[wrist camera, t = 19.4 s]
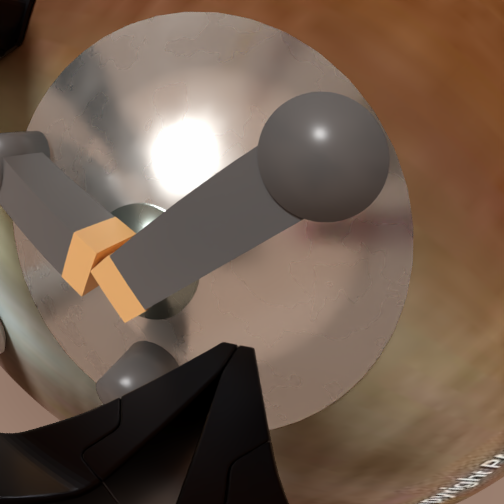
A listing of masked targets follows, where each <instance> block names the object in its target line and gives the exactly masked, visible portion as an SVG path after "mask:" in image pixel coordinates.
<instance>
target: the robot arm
mask: <svg viewBox="0 0 504 504" xmlns="http://www.w3.org/2000/svg"><path fill="white" fill-rule="evenodd" d="M32 3H33V0H0V59H1V58H2V57H3V56H5V55H6V54H8V53H9V52H11V51H12V50H14V49H15V48H17V47H18V46H19V45H20V44H21V42H22V39H23V35H24V31H25V27H26V24H27V20H28V17H29V13H30V10H31V7H32ZM0 504H289V503H288V500H287V498H286V495H285V492H284V489H283V486H282V483H281V480H280V477H279V474H278V470H277V466H276V462H275V458H274V453H273V447H272V443H271V437H270V432H269V427H268V421H267V416H266V410H265V405H264V399H263V393H262V388H261V382H260V376H259V371H258V365H257V359H256V353H255V349H254V348H253V347H248V346H243V345H240V346H238V345H237V344H232V343H227V342H222V343H220V344H218V345H216V346H215V347H213V348H211V349H209V350H208V351H206V352H204V353H202V354H200V355H199V356H197V357H195V358H193V359H191V360H190V361H188V362H186V363H184V364H182V365H181V366H179V367H177V368H175V369H173V370H171V371H169V372H167V373H166V374H164V375H162V376H160V377H158V378H156V379H154V380H152V381H150V382H148V383H146V384H145V385H143V386H141V387H139V388H137V389H135V390H133V391H131V392H129V393H127V394H125V395H123V396H121V399H120V398H116V399H114V400H112V401H110V402H108V403H106V404H104V405H102V406H99V407H97V408H95V409H92V410H90V411H88V412H85V413H82V414H80V415H77V416H74V417H71V418H68V419H65V420H62V421H59V422H56V423H53V424H49V425H46V426H43V427H39V428H36V429H32V430H29V431H25V432H20V433H0Z"/></svg>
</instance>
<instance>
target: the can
mask: <svg viewBox="0 0 504 504" xmlns="http://www.w3.org/2000/svg"><path fill="white" fill-rule="evenodd" d="M5 341H6V335H5V331H4V327H3V325H2V323H1V320H0V354H1V353H2V352H4V350H5Z"/></svg>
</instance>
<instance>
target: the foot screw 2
mask: <svg viewBox="0 0 504 504" xmlns="http://www.w3.org/2000/svg"><path fill="white" fill-rule="evenodd" d="M389 163H390V156H389V147H388V143H387V139H386V137H385V134H384V132H383V130H382V128H381V126H380V124H379V123H378V121H377V120H376V119H375V117H374V116H373V115H372V114H371V113H370V112H369V111H368V110H367V109H366V108H365V107H364V106H362V105H361V104H359V103H358V102H356V101H355V100H353V99H351V98H349V97H346V96H344V95H341V94H337V93H332V92H310V93H305V94H302V95H299V96H296V97H294V98H292V99H290V100H288V101H286V102H285V103H283V104H282V105H281V106H279V107H278V108H277V109H276V110H275V111H274V112H273V113H272V115H271V116H270V117H269V118H268V120H267V122H266V123H265V125H264V127H263V129H262V132H261V135H260V138H259V142H258V146H256V147H255V148H253V149H252V150H250V151H249V152H247V153H246V154H244V155H243V156H241V157H240V158H238V159H237V160H235V161H234V162H232V163H231V164H229V165H228V166H226V167H225V168H224V169H222V170H221V171H219V172H218V173H216V174H215V175H214V176H212V177H211V178H209V179H208V180H206V181H205V182H204V183H202V184H201V185H199V186H198V187H197V188H195V189H194V190H193V191H191V192H190V193H189V194H187V195H186V196H184V197H183V198H182V199H180V200H179V201H178V202H176V203H175V204H174V205H172V206H171V207H170V208H168V209H167V210H166V211H165V212H163V213H162V214H161V215H159V216H158V217H157V218H156V219H154V220H153V221H152V222H150V223H149V224H148V225H147V226H145V227H144V228H143V229H142V230H140V231H139V232H138V233H137V234H135V235H134V236H133V237H132V238H130V239H129V240H128V241H127V242H126V243H124V244H123V245H122V246H121V247H120V248H118V249H117V250H116V251H115V252H113V253H111V254H110V255H108V256H107V257H106V258H105V259H103V260H102V261H101V262H100V263H99V264H98V265H97V266H95V267H94V268H93V269H92V270H91V271H90V272H91V273H92V275H93V276H94V278H95V280H96V281H97V283H98V284H99V286H100V287H101V289H102V291H103V292H104V294H105V295H106V297H107V298H108V300H109V301H110V303H111V304H112V306H113V307H114V308H115V310H116V311H117V313H118V314H119V316H120V317H121V318H122V320H123V321H124V323H126V322H128V321H129V320H131V319H133V318H135V317H136V316H138V315H140V314H142V313H143V312H145V311H147V310H148V309H149V308H150V307H151V306H153V305H155V304H156V303H158V302H160V301H162V300H163V299H165V298H167V297H169V296H170V295H172V294H174V293H176V292H177V291H179V290H181V289H183V288H184V287H186V286H188V285H190V284H191V283H193V282H195V281H196V280H198V279H200V278H202V277H203V276H205V275H207V274H209V273H210V272H212V271H214V270H216V269H217V268H219V267H221V266H223V265H224V264H226V263H228V262H230V261H231V260H233V259H235V258H237V257H238V256H240V255H242V254H244V253H245V252H247V251H249V250H251V249H252V248H254V247H256V246H258V245H259V244H261V243H263V242H265V241H266V240H268V239H270V238H272V237H273V236H275V235H277V234H279V233H280V232H282V231H284V230H286V229H287V228H289V227H291V226H293V225H294V224H296V223H298V222H300V221H301V220H303V219H306V220H310V221H315V222H325V223H326V222H337V221H342V220H345V219H349V218H351V217H353V216H355V215H357V214H359V213H361V212H362V211H364V210H365V209H366V208H367V207H369V206H370V205H371V204H372V203H373V202H374V200H375V199H376V198H377V197H378V195H379V194H380V192H381V191H382V189H383V187H384V185H385V182H386V179H387V176H388V171H389Z"/></svg>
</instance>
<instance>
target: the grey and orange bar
mask: <svg viewBox="0 0 504 504" xmlns="http://www.w3.org/2000/svg"><path fill="white" fill-rule="evenodd" d="M177 367H179V364H178V363H177V361H176V360H175V358H174V357H173V356H172V355H171V354H170V353H169V352H168V351H167V350H165V349H164V348H162V347H161V346H159V345H157V344H155V343H152V342H148V341H138V342H136V343H134V344H133V345H132V346H131V347H130V348H129V349H128V350H127V351H126V352H125V353H124V354H123V355H122V356H121V357H120V358H119V359H118V360H117V361H116V362H115V364H114V365H113V366H112V367H111V368H110V369H109V370H108V371H107V372H106V373H105V374H104V375H103V376H102V377H101V378H100V379H99V380H98V381H97V384H96V390H97V394H98V396H99V398H100V400H101V401H102V403H103V404H106V403H108V402H110V401H112V400H114V399H116V398H120V399H121V396H123V395H125V394H127V393H129V392H131V391H133V390H135V389H137V388H139V387H141V386H143V385H145V384H146V383H148V382H150V381H152V380H154V379H156V378H158V377H160V376H162V375H164V374H166V373H167V372H169V371H171V370H173V369H175V368H177Z"/></svg>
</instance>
